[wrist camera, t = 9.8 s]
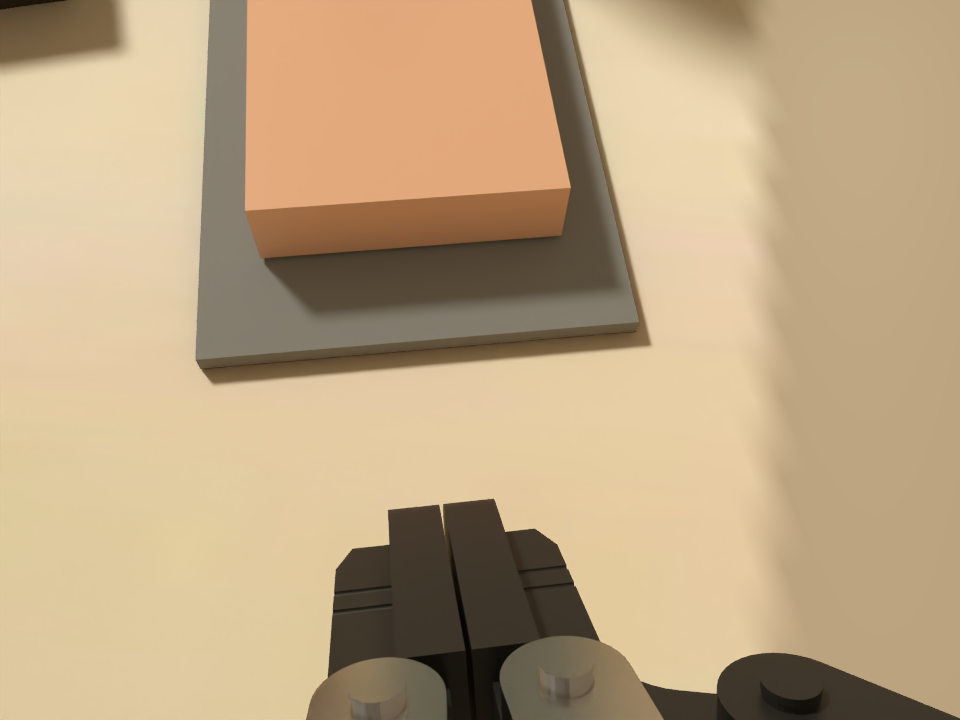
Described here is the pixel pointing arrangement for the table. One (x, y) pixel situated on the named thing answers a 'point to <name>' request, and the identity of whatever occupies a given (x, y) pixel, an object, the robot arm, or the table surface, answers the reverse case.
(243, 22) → the mat
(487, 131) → the tile
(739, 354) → the table surface
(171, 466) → the table surface
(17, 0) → the food platter
